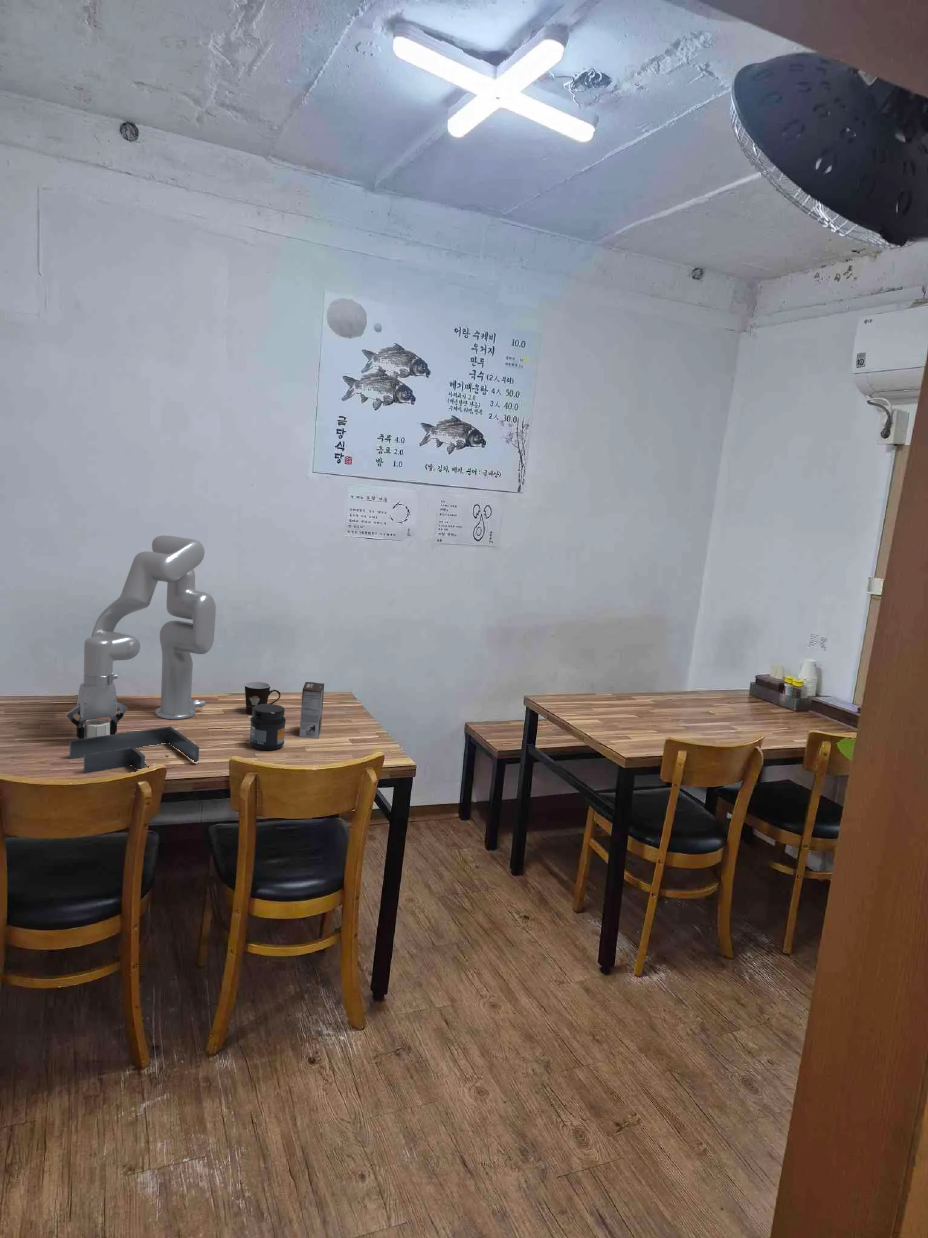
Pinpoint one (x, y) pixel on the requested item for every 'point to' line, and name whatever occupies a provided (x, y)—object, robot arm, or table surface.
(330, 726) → the table surface
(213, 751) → the table surface
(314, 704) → the coffee box
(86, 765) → the rail course
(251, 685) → the coffee mug
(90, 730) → the cream ring
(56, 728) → the table surface
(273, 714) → the supplement container
